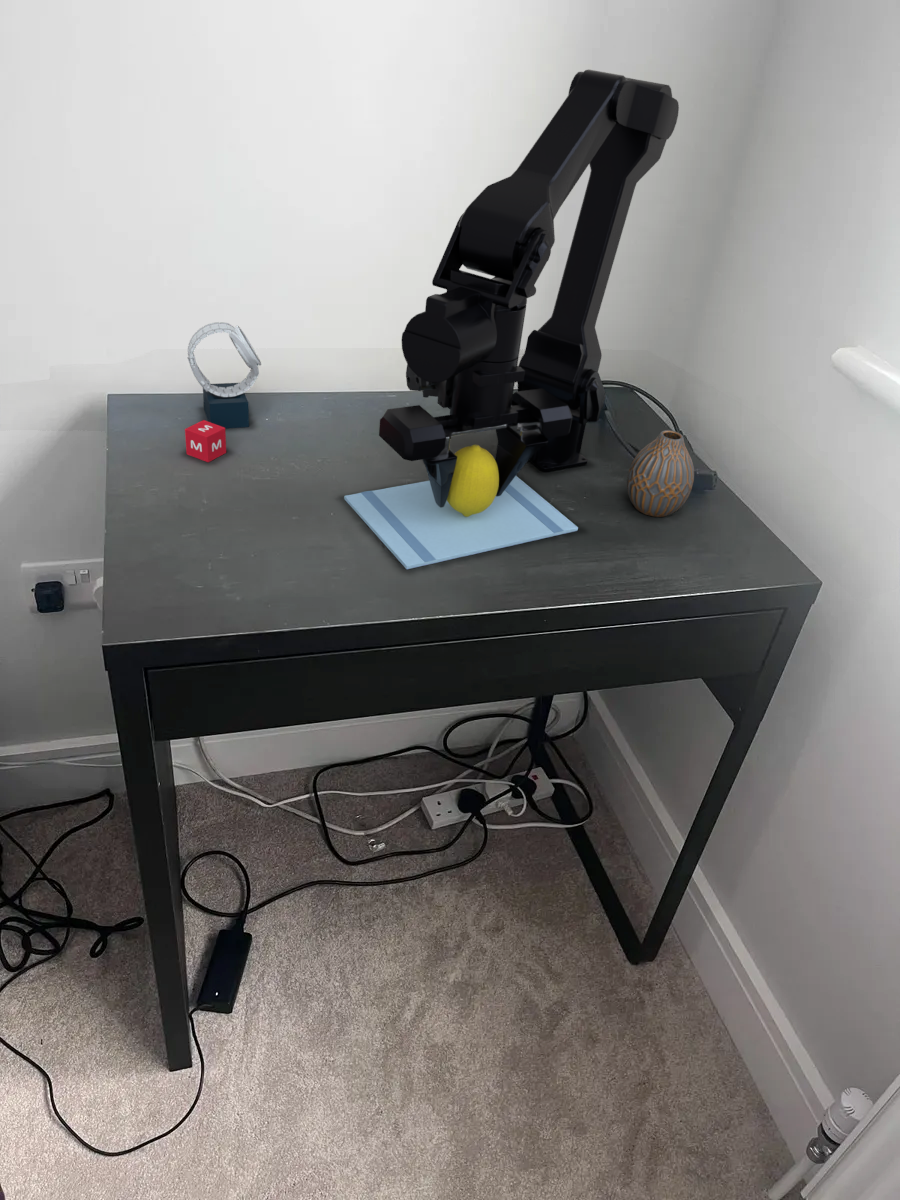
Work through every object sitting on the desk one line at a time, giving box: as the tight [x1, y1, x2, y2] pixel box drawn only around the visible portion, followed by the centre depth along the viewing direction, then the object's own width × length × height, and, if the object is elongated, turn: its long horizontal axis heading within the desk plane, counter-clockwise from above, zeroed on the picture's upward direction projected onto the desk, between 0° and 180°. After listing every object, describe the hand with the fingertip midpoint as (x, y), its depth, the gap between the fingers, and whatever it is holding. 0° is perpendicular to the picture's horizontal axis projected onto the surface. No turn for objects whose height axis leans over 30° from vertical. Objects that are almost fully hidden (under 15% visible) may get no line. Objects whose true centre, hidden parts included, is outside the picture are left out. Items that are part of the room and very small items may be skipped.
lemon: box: [447, 443, 499, 517], centre depth 92 cm, size 6×6×8 cm
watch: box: [187, 321, 262, 429], centre depth 104 cm, size 6×8×11 cm
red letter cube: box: [184, 419, 227, 463], centre depth 99 cm, size 3×3×3 cm
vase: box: [626, 429, 695, 518], centre depth 98 cm, size 7×7×9 cm
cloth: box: [343, 475, 579, 570], centre depth 95 cm, size 20×14×1 cm
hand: (468, 499), depth 93 cm, fingers open, 6 cm apart
